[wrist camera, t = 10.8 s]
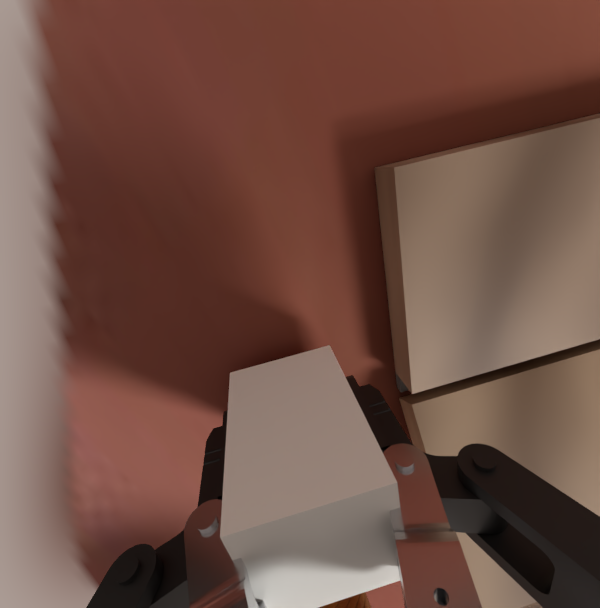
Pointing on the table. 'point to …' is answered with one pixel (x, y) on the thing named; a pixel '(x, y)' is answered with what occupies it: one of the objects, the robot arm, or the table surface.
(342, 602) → the disposable coffee cup
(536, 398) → the board
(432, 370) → the floor board
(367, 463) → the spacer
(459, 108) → the table surface
